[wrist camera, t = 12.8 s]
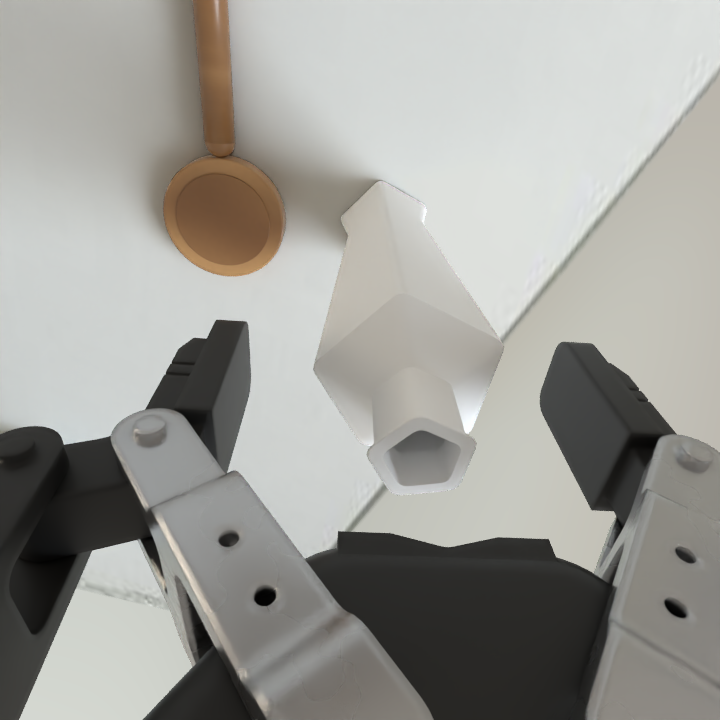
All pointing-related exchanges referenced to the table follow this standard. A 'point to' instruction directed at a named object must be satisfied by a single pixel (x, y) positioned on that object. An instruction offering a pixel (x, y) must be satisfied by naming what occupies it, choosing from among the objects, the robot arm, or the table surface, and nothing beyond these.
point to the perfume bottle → (405, 347)
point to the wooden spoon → (221, 173)
